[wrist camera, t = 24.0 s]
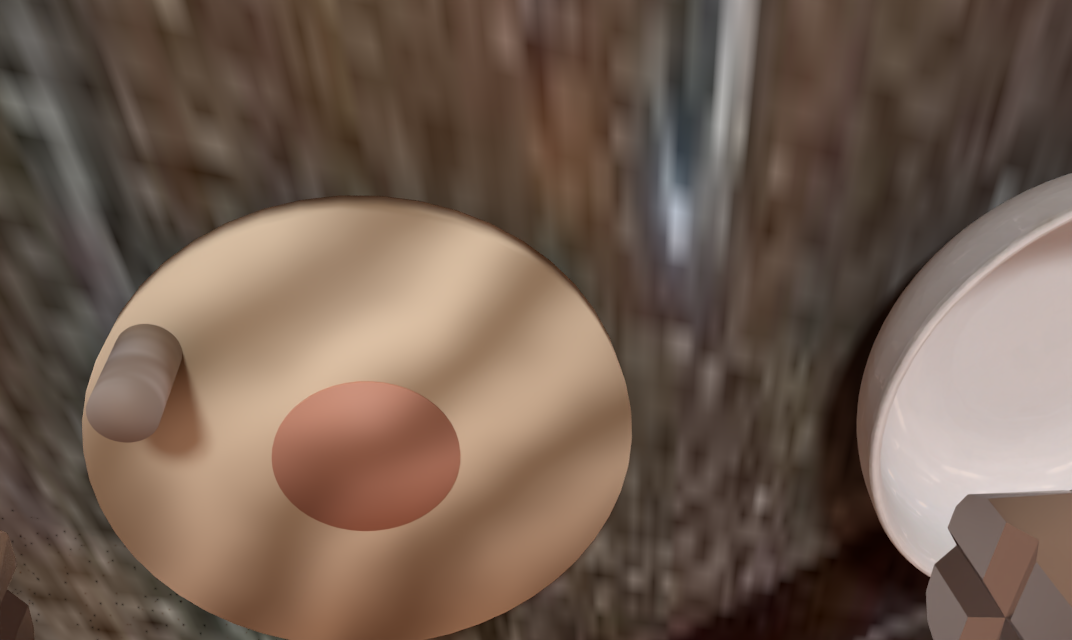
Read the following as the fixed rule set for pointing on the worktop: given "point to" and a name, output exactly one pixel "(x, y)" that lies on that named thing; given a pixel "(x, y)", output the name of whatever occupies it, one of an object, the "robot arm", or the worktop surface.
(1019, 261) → the serving bowl
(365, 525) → the round wooden board
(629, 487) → the worktop surface
